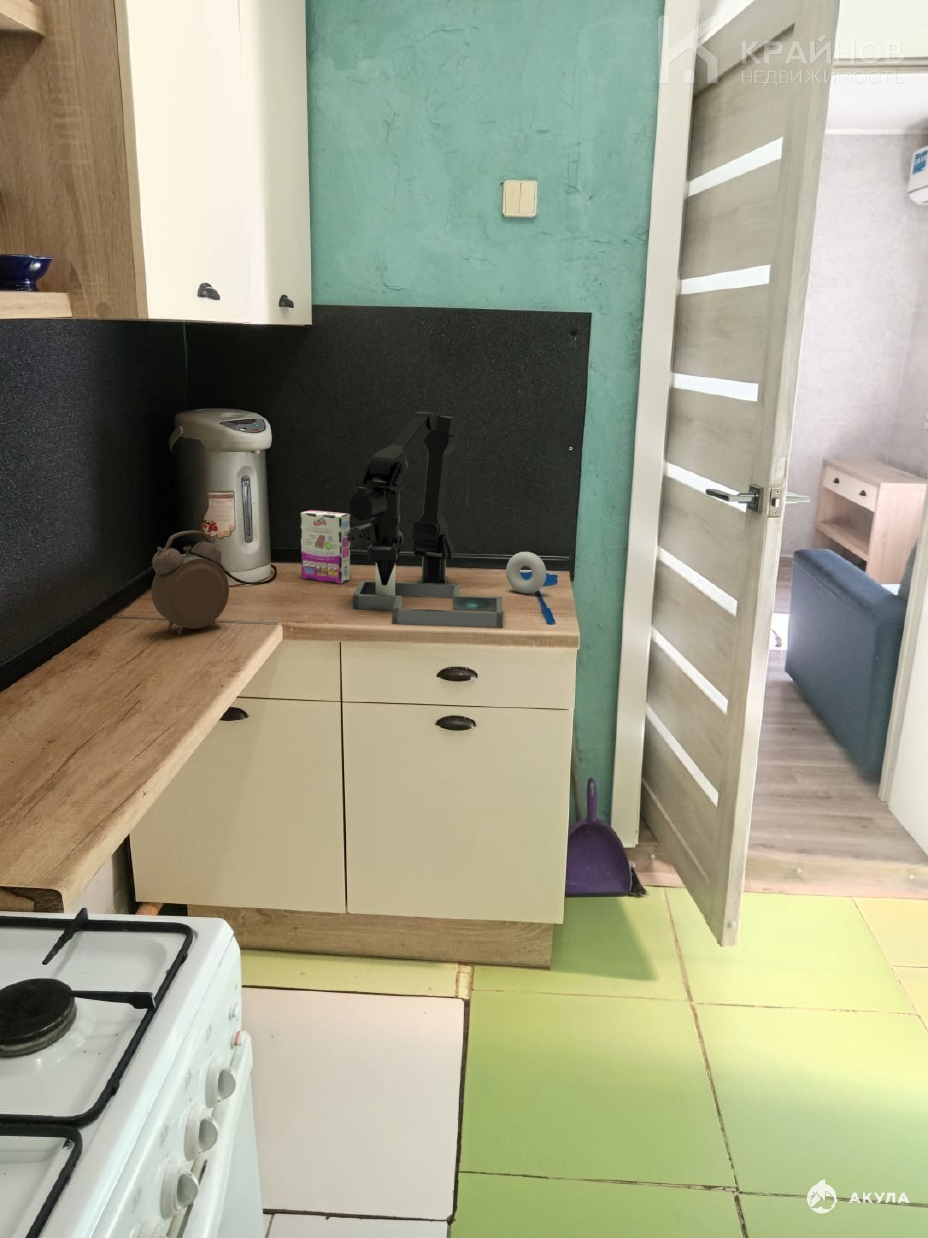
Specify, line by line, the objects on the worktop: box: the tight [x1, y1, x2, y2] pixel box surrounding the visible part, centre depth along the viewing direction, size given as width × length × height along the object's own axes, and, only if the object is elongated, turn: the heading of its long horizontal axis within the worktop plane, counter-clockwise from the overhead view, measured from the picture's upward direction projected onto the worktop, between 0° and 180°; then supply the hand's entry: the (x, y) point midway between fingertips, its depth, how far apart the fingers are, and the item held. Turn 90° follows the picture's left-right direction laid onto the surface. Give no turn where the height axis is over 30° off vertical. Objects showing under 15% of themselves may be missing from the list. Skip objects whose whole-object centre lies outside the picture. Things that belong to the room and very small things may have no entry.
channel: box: [352, 580, 504, 629], centre depth 215 cm, size 23×32×3 cm
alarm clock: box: [150, 530, 230, 635], centre depth 193 cm, size 14×7×20 cm, turn 135°
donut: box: [505, 551, 547, 595], centre depth 230 cm, size 10×3×10 cm, turn 64°
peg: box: [375, 562, 397, 596], centre depth 219 cm, size 4×4×9 cm
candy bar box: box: [300, 509, 351, 585], centre depth 236 cm, size 11×5×16 cm, turn 68°
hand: (385, 582), depth 219 cm, fingers closed on peg, 4 cm apart
